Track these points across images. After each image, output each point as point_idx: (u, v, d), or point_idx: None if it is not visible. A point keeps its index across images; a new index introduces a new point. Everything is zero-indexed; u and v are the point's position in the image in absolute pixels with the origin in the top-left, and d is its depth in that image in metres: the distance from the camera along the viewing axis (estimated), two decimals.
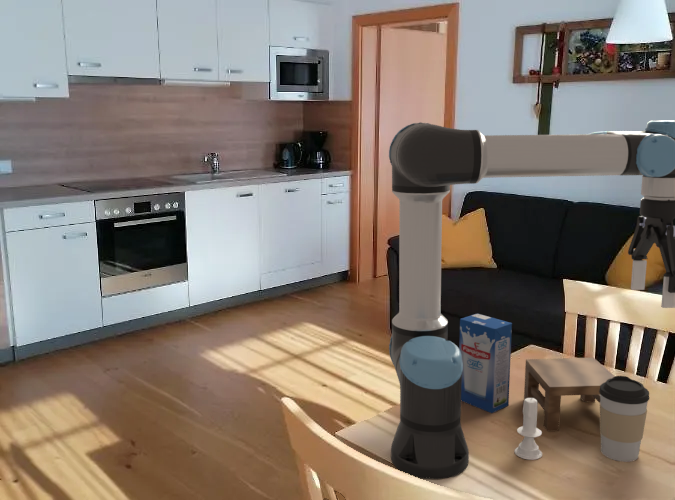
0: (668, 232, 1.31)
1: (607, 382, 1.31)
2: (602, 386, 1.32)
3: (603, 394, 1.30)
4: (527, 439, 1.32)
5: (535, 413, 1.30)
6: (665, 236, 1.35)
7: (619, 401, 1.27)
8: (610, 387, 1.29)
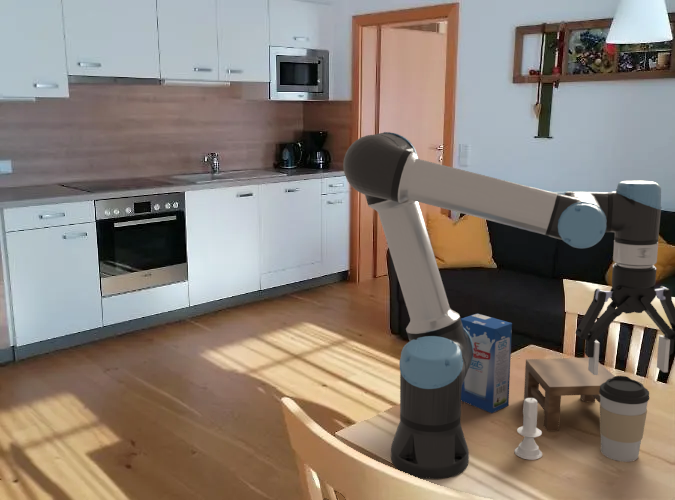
0: None
1: (607, 382, 1.31)
2: (602, 386, 1.32)
3: (603, 394, 1.30)
4: (527, 439, 1.32)
5: (535, 413, 1.30)
6: None
7: (619, 401, 1.27)
8: (610, 387, 1.29)
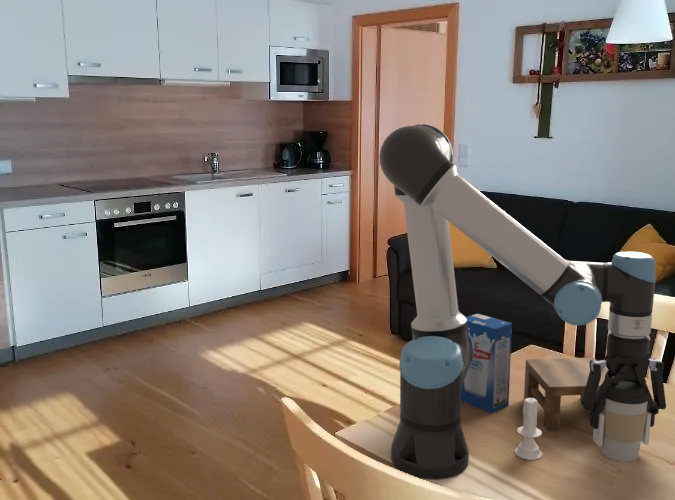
0: None
1: None
2: None
3: None
4: (527, 439, 1.32)
5: (535, 413, 1.30)
6: None
7: (619, 401, 1.27)
8: None
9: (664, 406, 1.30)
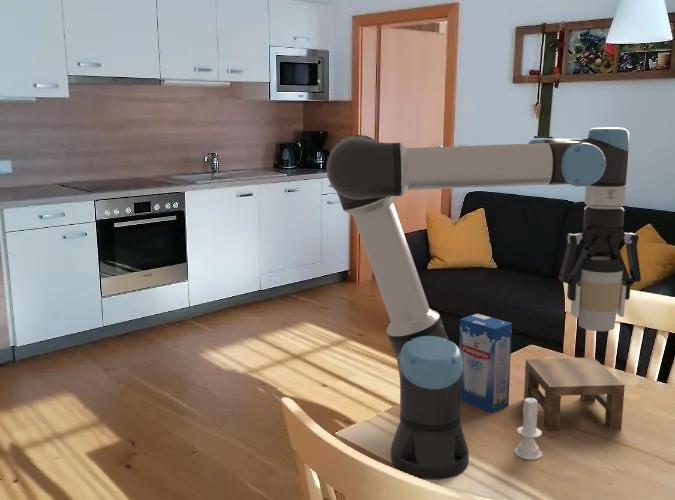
0: None
1: None
2: None
3: None
4: (527, 439, 1.32)
5: (535, 413, 1.30)
6: None
7: (594, 270, 1.33)
8: None
9: (639, 278, 1.36)
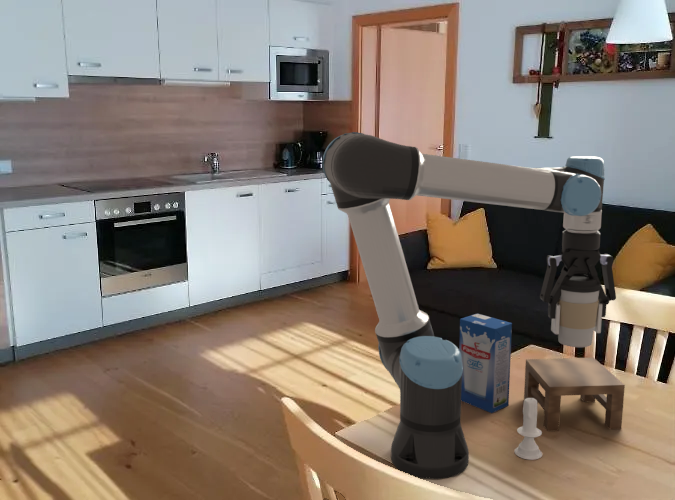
0: None
1: None
2: None
3: None
4: (527, 439, 1.32)
5: (535, 413, 1.30)
6: None
7: (572, 290, 1.41)
8: None
9: (614, 297, 1.44)
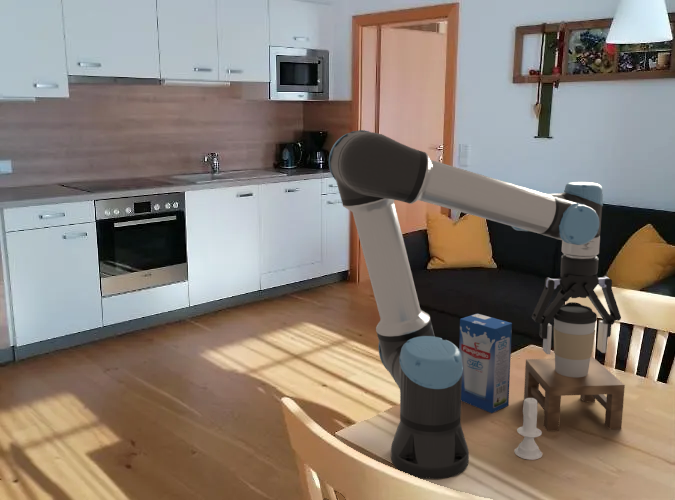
0: None
1: None
2: None
3: (556, 317, 1.45)
4: (527, 439, 1.32)
5: (535, 413, 1.30)
6: None
7: (569, 322, 1.42)
8: (562, 310, 1.45)
9: (619, 317, 1.45)
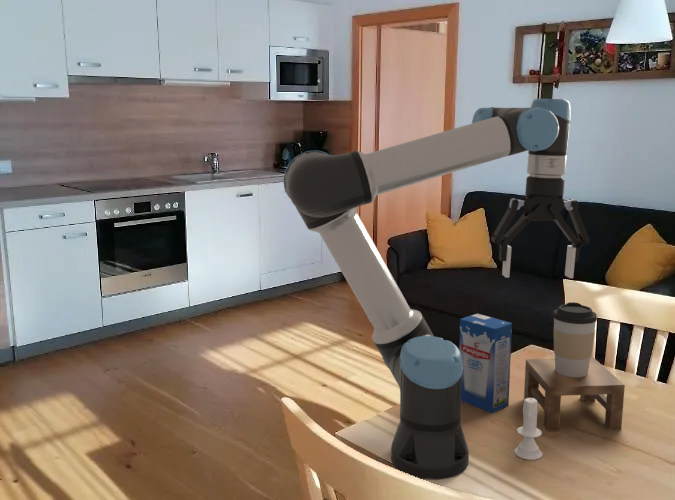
0: None
1: (560, 307, 1.47)
2: (555, 311, 1.47)
3: (556, 317, 1.45)
4: (527, 439, 1.32)
5: (535, 413, 1.30)
6: None
7: (569, 322, 1.43)
8: (562, 310, 1.45)
9: (588, 241, 1.39)
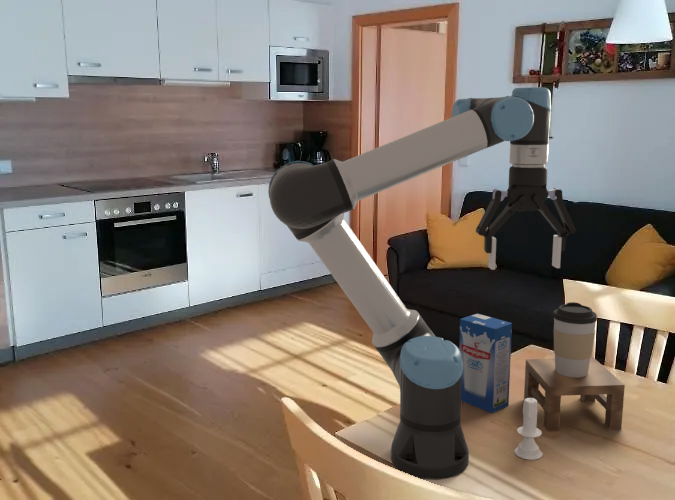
0: None
1: (560, 307, 1.47)
2: (555, 311, 1.47)
3: (556, 317, 1.45)
4: (527, 439, 1.32)
5: (535, 413, 1.30)
6: None
7: (569, 322, 1.43)
8: (562, 310, 1.45)
9: (574, 230, 1.38)
